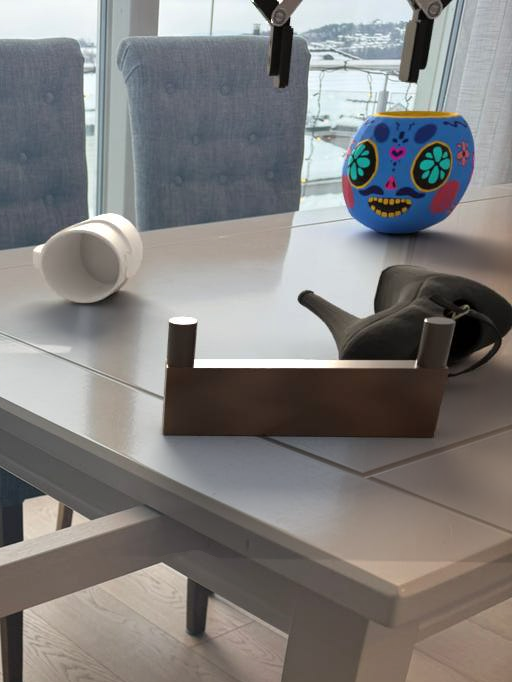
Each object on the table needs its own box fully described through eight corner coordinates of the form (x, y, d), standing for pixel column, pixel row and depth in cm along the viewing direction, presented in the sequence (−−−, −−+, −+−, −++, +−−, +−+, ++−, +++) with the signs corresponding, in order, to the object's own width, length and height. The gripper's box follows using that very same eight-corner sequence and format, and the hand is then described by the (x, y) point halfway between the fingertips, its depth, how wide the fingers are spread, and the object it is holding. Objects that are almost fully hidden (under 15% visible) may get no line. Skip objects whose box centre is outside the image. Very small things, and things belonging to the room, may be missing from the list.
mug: (148, 290, 107) (151, 215, 103) (121, 309, 100) (123, 229, 96) (52, 282, 112) (51, 210, 107) (20, 300, 104) (18, 223, 100)
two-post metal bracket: (426, 427, 69) (450, 316, 65) (434, 437, 67) (459, 324, 63) (161, 425, 70) (168, 317, 66) (162, 434, 69) (169, 324, 64)
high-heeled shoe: (466, 328, 89) (587, 410, 73) (273, 340, 88) (353, 427, 72) (488, 241, 85) (622, 308, 69) (284, 252, 83) (372, 324, 67)
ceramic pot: (317, 237, 133) (334, 117, 124) (349, 218, 145) (367, 108, 137) (447, 247, 125) (473, 119, 117) (469, 226, 138) (494, 109, 130)
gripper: (494, -207, 65) (444, 78, 74) (243, -191, 67) (225, 87, 76) (534, -233, 59) (474, 82, 68) (257, -214, 60) (235, 92, 70)
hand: (343, 84), depth 72 cm, fingers open, 9 cm apart
